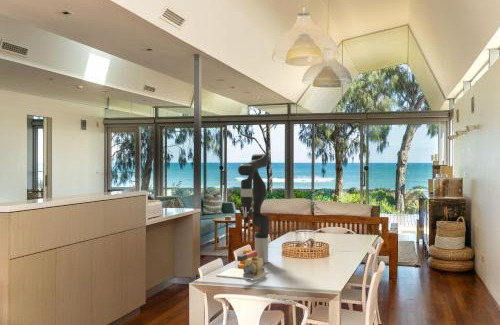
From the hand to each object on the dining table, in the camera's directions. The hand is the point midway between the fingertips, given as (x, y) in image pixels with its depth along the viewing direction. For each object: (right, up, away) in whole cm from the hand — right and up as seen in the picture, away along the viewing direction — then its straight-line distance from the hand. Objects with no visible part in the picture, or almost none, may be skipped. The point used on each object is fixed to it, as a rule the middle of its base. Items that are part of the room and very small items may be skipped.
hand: (246, 223), depth 320 cm
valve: (+5, -31, -9) cm, 33 cm away
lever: (+1, -19, -17) cm, 26 cm away
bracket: (0, -31, +11) cm, 33 cm away
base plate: (-2, -31, -8) cm, 32 cm away
